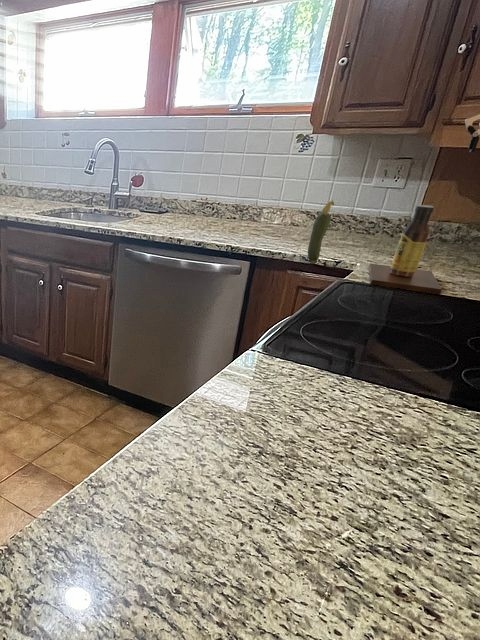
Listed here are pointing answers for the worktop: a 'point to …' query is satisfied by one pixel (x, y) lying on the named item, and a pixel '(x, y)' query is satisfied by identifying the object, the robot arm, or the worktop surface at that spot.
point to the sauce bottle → (412, 243)
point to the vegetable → (319, 233)
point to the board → (404, 279)
